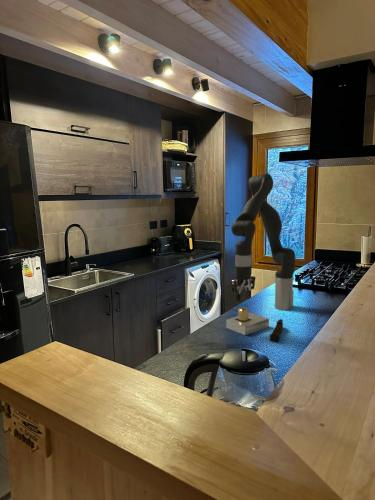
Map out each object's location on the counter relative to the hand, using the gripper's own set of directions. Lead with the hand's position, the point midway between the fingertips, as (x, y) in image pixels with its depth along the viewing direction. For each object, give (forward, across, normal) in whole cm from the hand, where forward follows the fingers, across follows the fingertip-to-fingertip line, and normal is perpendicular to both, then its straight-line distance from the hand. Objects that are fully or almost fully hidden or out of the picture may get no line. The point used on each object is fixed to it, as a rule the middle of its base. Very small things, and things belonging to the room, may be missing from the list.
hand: (243, 299), depth 162 cm
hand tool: (+14, -6, +15) cm, 21 cm away
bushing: (+14, 0, 0) cm, 14 cm away
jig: (+14, -2, +1) cm, 14 cm away
